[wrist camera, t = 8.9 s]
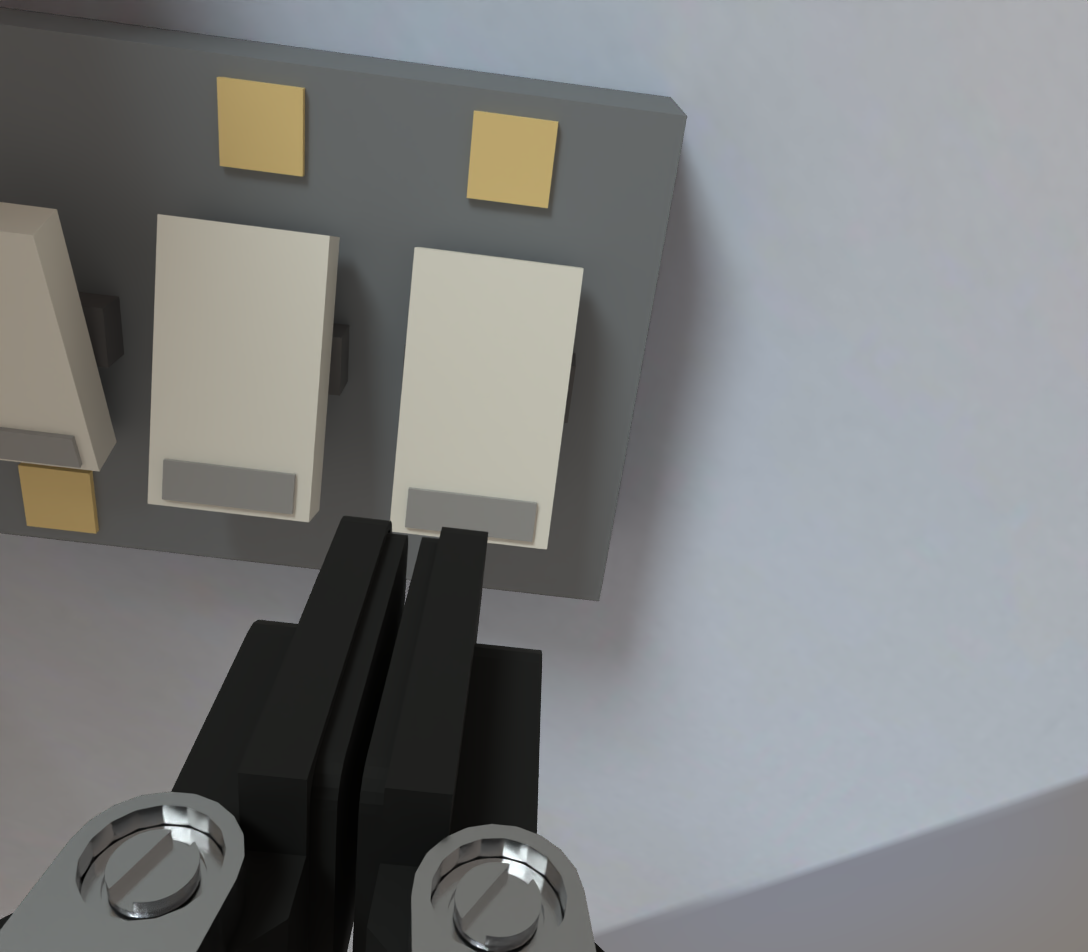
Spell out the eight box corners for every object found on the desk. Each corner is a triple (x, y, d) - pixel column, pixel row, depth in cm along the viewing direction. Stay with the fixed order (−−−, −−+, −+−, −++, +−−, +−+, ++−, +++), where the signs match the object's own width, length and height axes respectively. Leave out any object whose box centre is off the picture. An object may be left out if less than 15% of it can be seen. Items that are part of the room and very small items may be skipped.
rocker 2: (176, 216, 23) (154, 213, 22) (339, 236, 23) (328, 235, 22) (165, 492, 25) (145, 505, 24) (319, 509, 25) (307, 523, 24)
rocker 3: (420, 247, 23) (413, 247, 22) (581, 267, 24) (584, 268, 22) (395, 518, 25) (388, 532, 24) (546, 535, 25) (547, 551, 24)
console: (-74, -3, 25) (-210, 1, 21) (670, 97, 26) (692, 121, 22) (1, 463, 32) (-91, 542, 27) (595, 533, 32) (600, 620, 28)
